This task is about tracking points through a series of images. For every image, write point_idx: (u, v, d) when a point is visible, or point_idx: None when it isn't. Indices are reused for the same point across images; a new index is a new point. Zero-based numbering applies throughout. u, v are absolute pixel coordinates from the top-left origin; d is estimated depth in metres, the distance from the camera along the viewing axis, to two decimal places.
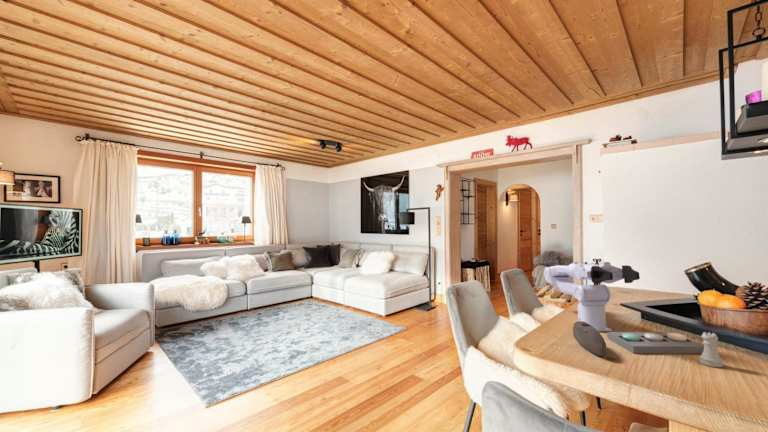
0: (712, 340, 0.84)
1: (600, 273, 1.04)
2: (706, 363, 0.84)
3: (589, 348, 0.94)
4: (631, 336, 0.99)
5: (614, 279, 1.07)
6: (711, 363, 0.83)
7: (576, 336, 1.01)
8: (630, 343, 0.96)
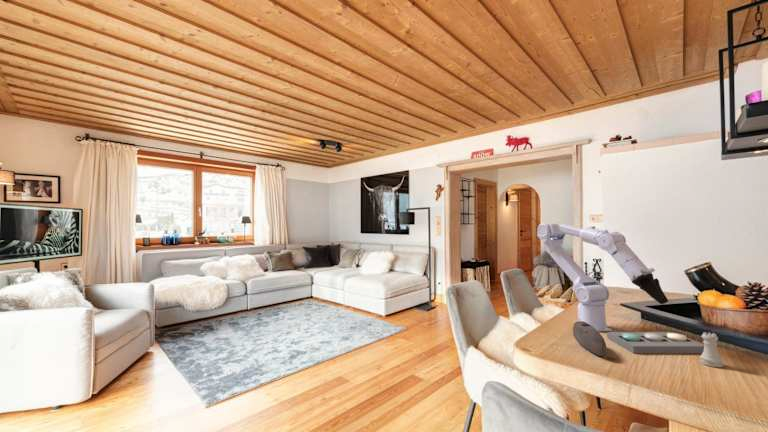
0: (712, 340, 0.84)
1: (648, 283, 0.96)
2: (706, 363, 0.84)
3: (589, 348, 0.94)
4: (631, 336, 0.99)
5: None
6: (711, 363, 0.83)
7: (576, 336, 1.01)
8: (630, 343, 0.96)
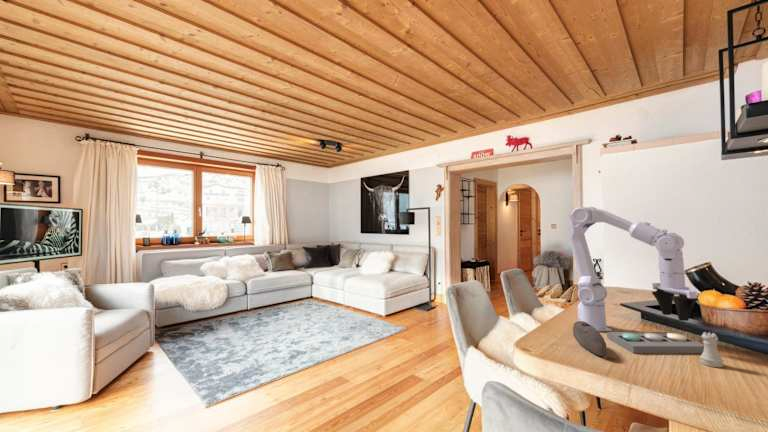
0: (712, 340, 0.84)
1: (685, 303, 0.95)
2: (706, 363, 0.84)
3: (589, 348, 0.94)
4: (631, 336, 0.99)
5: None
6: (711, 363, 0.83)
7: (576, 336, 1.01)
8: (630, 343, 0.96)
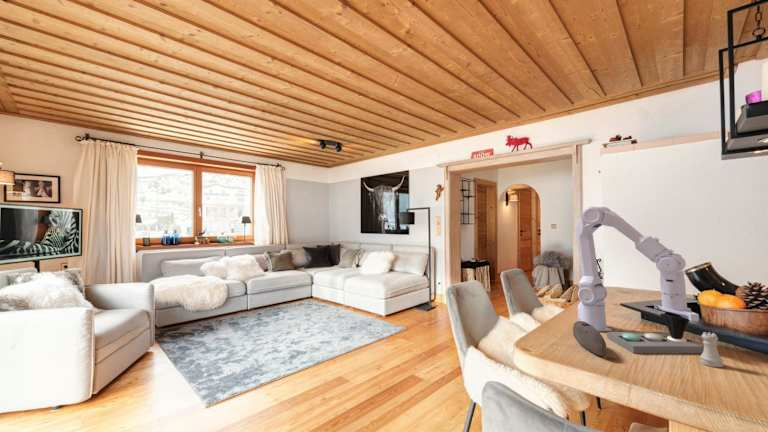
0: (712, 340, 0.84)
1: (679, 322, 0.98)
2: (706, 363, 0.84)
3: (589, 348, 0.94)
4: (631, 336, 0.99)
5: None
6: (711, 363, 0.83)
7: (576, 336, 1.01)
8: (630, 343, 0.96)
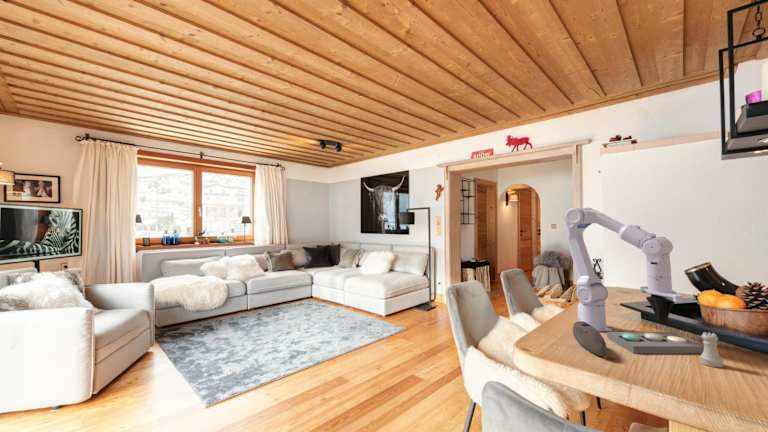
0: (712, 340, 0.84)
1: (664, 305, 0.98)
2: (706, 363, 0.84)
3: (589, 348, 0.94)
4: (631, 336, 0.99)
5: None
6: (711, 363, 0.83)
7: (576, 336, 1.01)
8: (630, 343, 0.96)
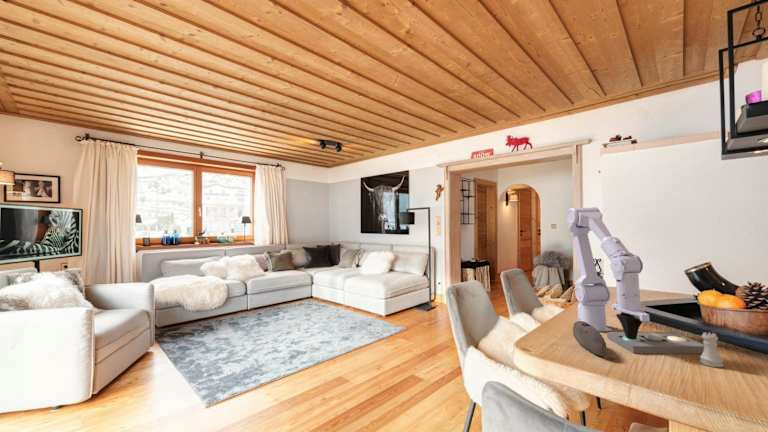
0: (712, 340, 0.84)
1: (633, 323, 0.99)
2: (706, 363, 0.84)
3: (589, 348, 0.94)
4: (631, 339, 0.99)
5: None
6: (711, 363, 0.83)
7: (576, 336, 1.01)
8: (630, 343, 0.96)
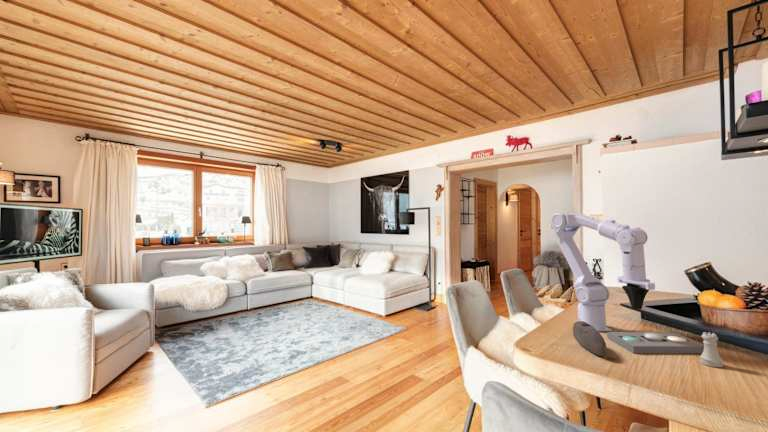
0: (712, 340, 0.84)
1: (639, 293, 1.02)
2: (706, 363, 0.84)
3: (589, 348, 0.94)
4: (631, 339, 0.99)
5: None
6: (711, 363, 0.83)
7: (576, 336, 1.01)
8: (630, 343, 0.96)
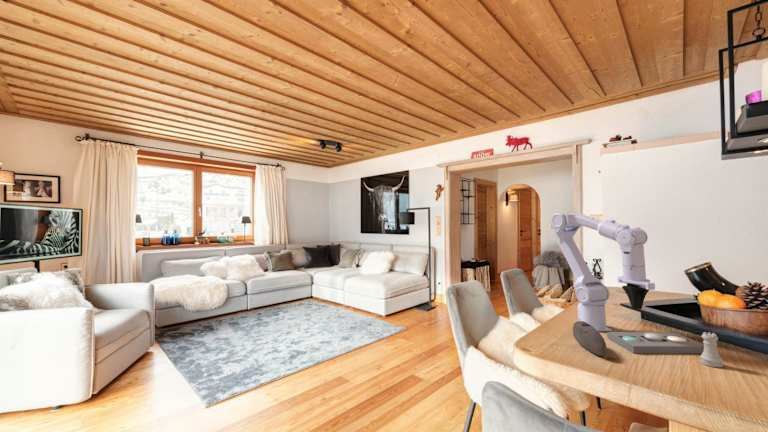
0: (712, 340, 0.84)
1: (639, 293, 1.02)
2: (706, 363, 0.84)
3: (589, 348, 0.94)
4: (631, 339, 0.99)
5: None
6: (711, 363, 0.83)
7: (576, 336, 1.01)
8: (630, 343, 0.96)
